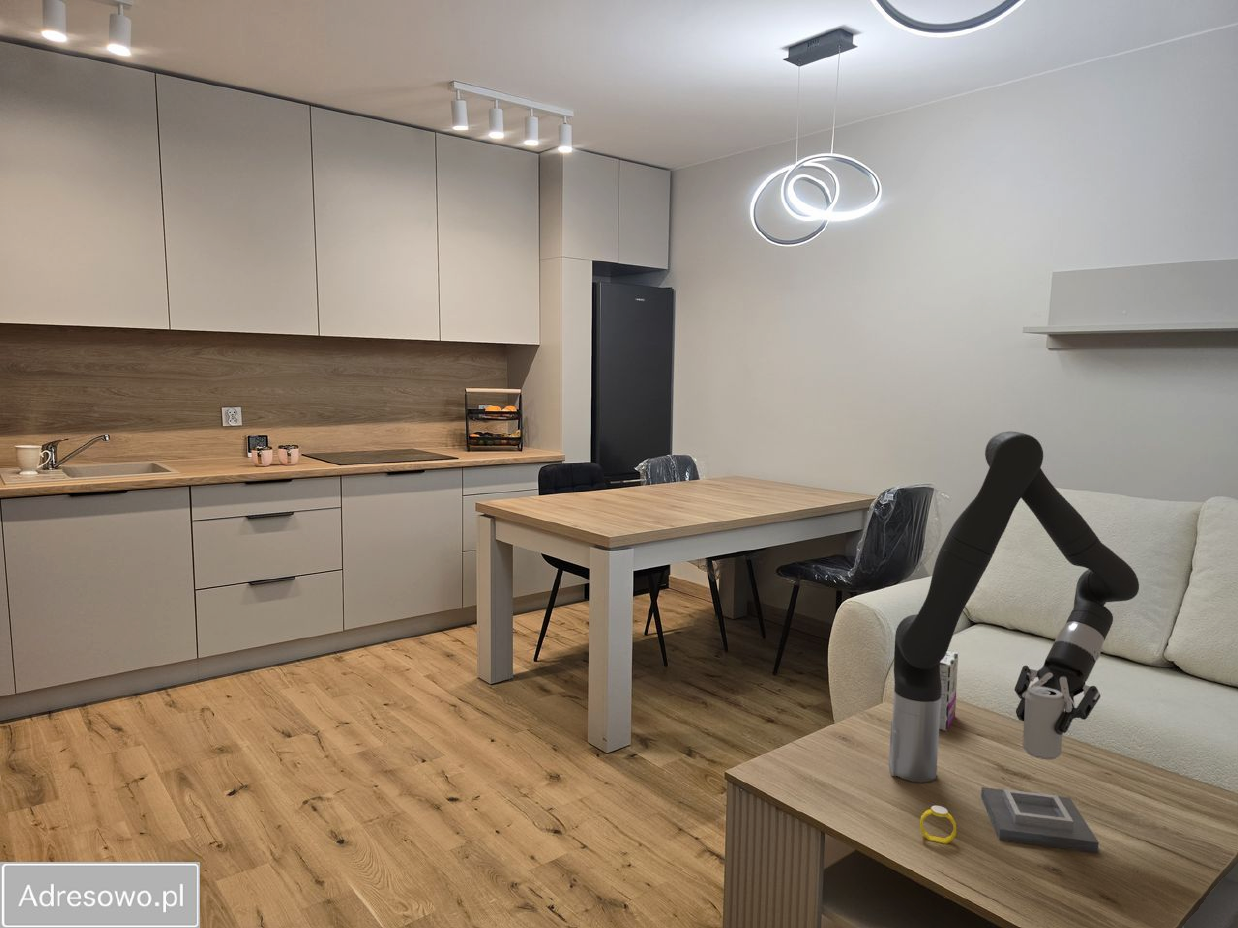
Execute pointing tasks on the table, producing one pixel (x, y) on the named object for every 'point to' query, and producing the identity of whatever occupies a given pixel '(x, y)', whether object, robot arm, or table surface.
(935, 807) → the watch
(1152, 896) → the table surface
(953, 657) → the candy bar box
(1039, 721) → the beverage can
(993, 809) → the mounting plate
